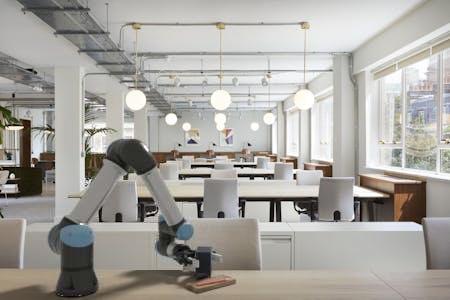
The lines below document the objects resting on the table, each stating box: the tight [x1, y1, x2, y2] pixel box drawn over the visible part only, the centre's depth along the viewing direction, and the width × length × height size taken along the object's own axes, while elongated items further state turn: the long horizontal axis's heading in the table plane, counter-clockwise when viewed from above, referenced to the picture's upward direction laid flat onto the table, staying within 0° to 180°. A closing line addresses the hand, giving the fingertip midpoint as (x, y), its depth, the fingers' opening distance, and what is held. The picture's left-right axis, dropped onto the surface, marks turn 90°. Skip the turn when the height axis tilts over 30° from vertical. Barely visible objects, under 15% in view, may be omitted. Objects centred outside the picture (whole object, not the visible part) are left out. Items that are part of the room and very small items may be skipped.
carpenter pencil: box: [197, 278, 230, 286], centre depth 166 cm, size 14×1×1 cm, turn 120°
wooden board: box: [185, 274, 237, 294], centre depth 168 cm, size 8×18×2 cm, turn 130°
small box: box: [194, 245, 213, 279], centre depth 179 cm, size 11×6×10 cm, turn 179°
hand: (210, 261), depth 176 cm, fingers closed on small box, 11 cm apart
